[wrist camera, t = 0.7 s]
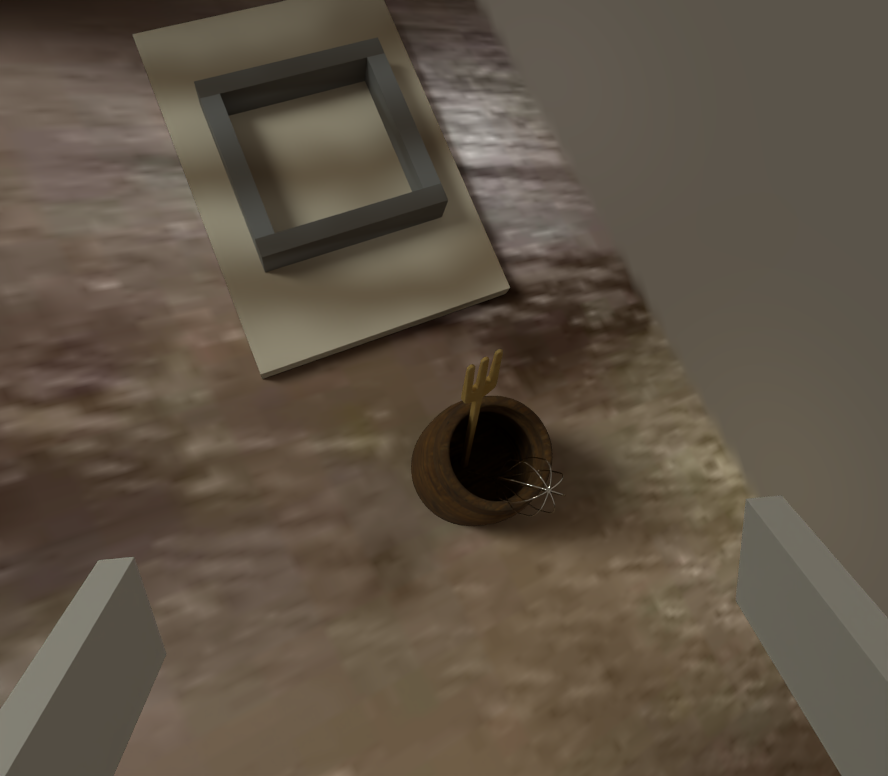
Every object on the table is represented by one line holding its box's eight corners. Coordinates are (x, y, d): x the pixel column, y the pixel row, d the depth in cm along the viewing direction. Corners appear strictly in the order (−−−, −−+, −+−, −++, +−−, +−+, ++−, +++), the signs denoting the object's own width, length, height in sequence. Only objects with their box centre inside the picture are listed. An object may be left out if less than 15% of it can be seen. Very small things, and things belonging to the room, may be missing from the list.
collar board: (137, 47, 39) (121, 6, 36) (374, -7, 42) (378, -47, 39) (262, 378, 36) (257, 364, 33) (505, 293, 39) (520, 274, 36)
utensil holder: (445, 549, 36) (506, 552, 24) (384, 442, 36) (414, 395, 25) (540, 490, 37) (639, 467, 26) (479, 388, 38) (550, 320, 26)
